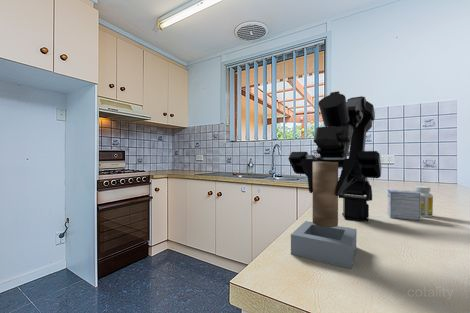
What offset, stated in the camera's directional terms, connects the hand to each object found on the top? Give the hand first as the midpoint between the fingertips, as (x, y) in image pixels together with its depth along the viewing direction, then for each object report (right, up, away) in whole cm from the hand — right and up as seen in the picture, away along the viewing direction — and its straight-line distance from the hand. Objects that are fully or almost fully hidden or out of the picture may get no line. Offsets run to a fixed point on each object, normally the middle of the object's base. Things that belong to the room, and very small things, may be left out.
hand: (323, 193), depth 46 cm
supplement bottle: (+44, -12, +28) cm, 54 cm away
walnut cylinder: (+1, -7, +1) cm, 7 cm away
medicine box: (+36, -12, +26) cm, 46 cm away
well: (+1, -12, +1) cm, 12 cm away
